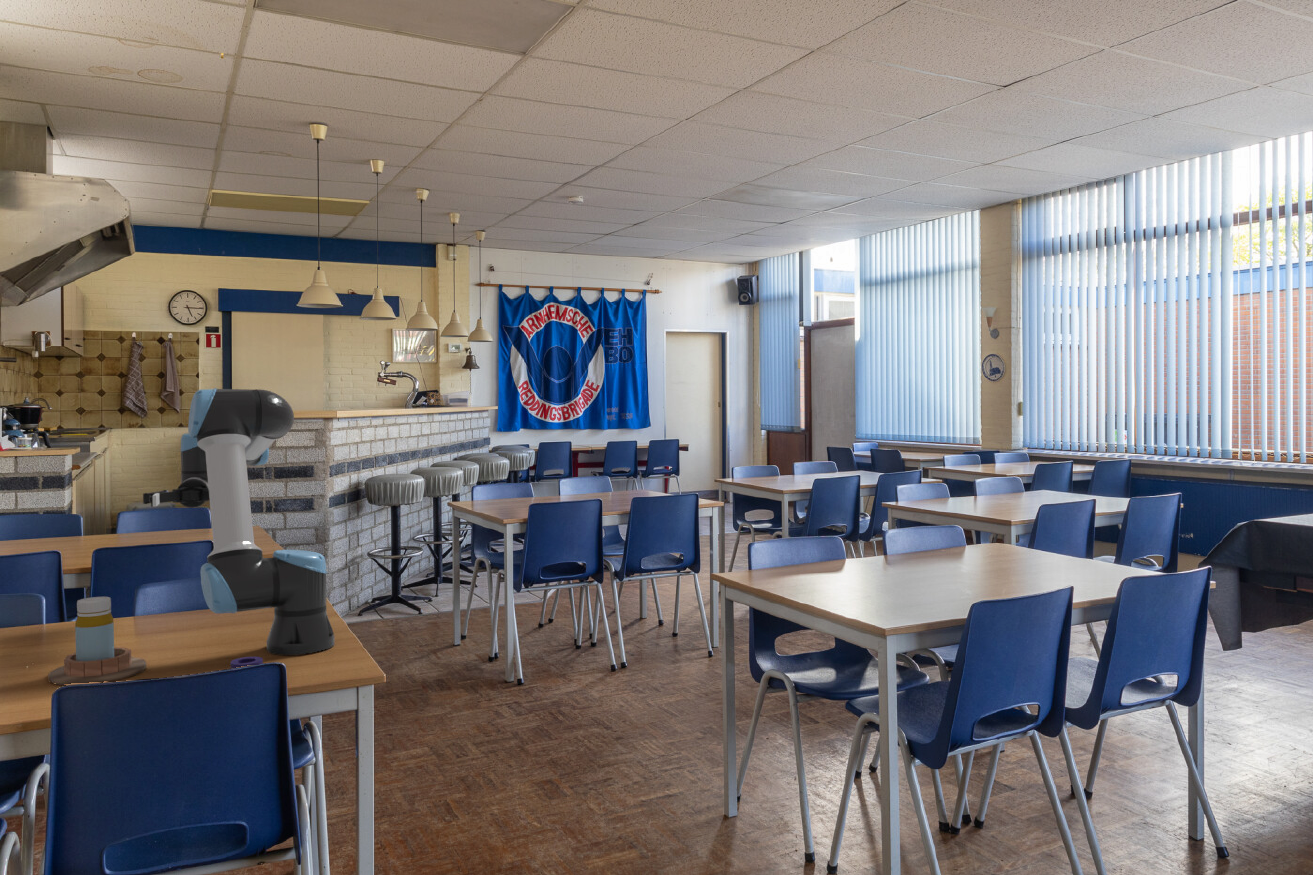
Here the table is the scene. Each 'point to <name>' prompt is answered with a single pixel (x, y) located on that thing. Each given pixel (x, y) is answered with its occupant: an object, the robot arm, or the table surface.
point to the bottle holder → (98, 668)
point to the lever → (246, 661)
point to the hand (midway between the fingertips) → (186, 499)
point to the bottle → (94, 629)
